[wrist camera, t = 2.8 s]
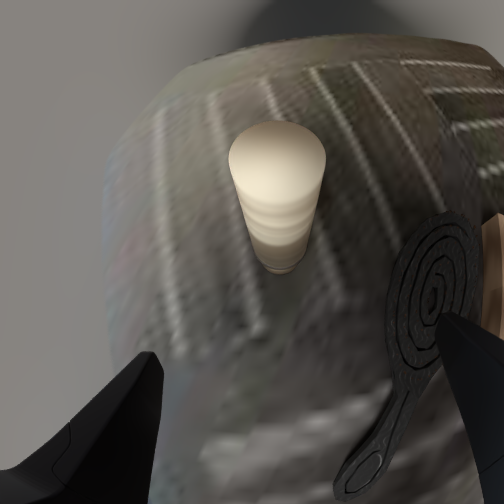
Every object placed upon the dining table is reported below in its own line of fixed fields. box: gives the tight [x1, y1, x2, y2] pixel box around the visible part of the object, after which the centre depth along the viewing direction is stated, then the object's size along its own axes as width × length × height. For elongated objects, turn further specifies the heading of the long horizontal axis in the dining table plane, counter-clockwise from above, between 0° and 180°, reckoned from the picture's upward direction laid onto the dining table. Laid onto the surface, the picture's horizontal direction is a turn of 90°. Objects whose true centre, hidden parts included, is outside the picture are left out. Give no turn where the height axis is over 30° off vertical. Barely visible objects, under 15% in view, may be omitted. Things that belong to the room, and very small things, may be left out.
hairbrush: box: [333, 211, 480, 502], centre depth 17 cm, size 8×4×25 cm
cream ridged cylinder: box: [229, 121, 326, 275], centre depth 16 cm, size 4×4×12 cm
